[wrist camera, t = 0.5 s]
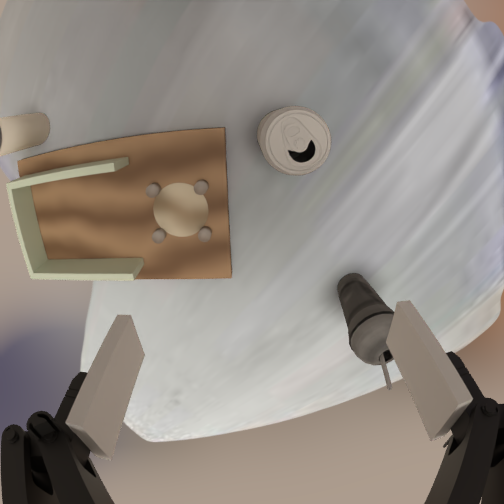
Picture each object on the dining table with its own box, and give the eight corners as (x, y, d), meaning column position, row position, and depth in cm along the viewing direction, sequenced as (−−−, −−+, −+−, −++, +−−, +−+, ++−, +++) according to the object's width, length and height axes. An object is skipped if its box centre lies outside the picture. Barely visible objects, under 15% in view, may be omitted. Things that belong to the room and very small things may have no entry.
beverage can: (271, 167, 36) (281, 191, 26) (247, 122, 34) (247, 125, 23) (316, 146, 35) (346, 161, 24) (294, 101, 33) (316, 94, 22)
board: (23, 159, 34) (11, 163, 31) (225, 127, 34) (223, 128, 31) (49, 273, 43) (40, 282, 40) (231, 272, 43) (231, 283, 40)
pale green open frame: (24, 175, 34) (6, 183, 30) (128, 156, 34) (113, 162, 30) (45, 265, 40) (31, 278, 36) (144, 264, 40) (134, 280, 36)
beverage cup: (375, 296, 45) (427, 389, 27) (333, 311, 46) (370, 412, 28) (369, 258, 42) (432, 350, 24) (324, 274, 43) (366, 377, 25)
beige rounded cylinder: (25, 116, 31) (-29, 126, 20) (49, 108, 31) (-7, 115, 20) (28, 148, 33) (-26, 166, 22) (51, 141, 33) (-3, 157, 23)
